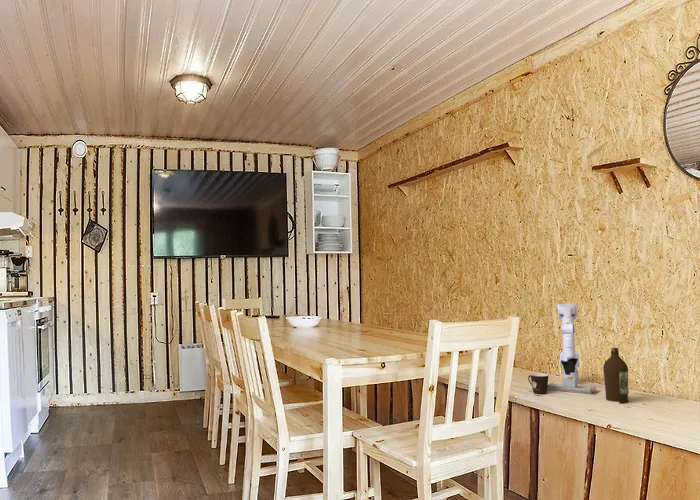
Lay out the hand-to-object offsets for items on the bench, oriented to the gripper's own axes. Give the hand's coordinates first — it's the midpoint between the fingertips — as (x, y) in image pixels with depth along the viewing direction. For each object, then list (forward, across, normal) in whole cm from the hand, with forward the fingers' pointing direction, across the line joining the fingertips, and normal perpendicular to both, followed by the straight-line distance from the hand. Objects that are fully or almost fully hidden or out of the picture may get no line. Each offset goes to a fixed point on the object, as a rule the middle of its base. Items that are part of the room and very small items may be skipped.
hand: (569, 373), depth 287 cm
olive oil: (+10, +10, +24) cm, 28 cm away
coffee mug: (+10, +12, -12) cm, 20 cm away
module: (+8, 0, 0) cm, 8 cm away
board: (+9, -1, 0) cm, 9 cm away
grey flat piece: (+9, -1, 0) cm, 9 cm away
